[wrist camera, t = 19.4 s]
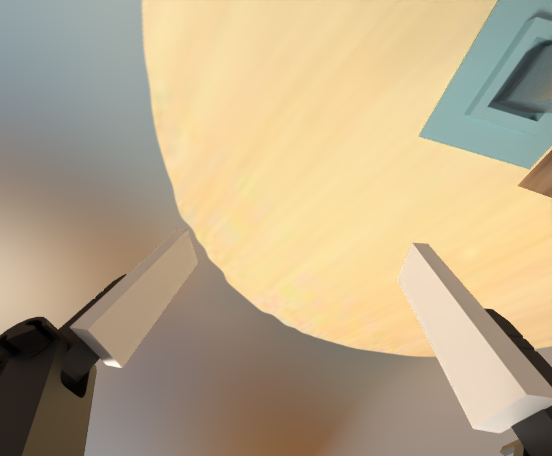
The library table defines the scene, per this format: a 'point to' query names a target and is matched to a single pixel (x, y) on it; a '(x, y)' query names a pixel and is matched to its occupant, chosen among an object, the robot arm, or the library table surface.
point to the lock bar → (529, 83)
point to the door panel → (540, 177)
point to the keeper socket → (496, 89)
